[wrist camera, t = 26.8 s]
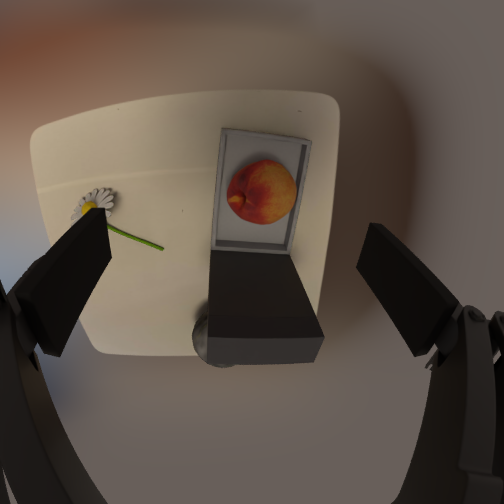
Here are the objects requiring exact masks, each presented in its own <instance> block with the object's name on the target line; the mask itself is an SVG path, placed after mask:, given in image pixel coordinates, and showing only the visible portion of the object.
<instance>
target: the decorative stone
mask: <svg viewBox="0 0 504 504" xmlns="http://www.w3.org/2000/svg"><path fill="white" fill-rule="evenodd" d="M207 323H208V312H206V313H204V314H203V315H202V316H201V317H200V318H199V319H198V320H197V322H196V323H195V326H194V329H193V333H192V340H193V346H194V349H195V351H196V352H197V354H198V355H199V357H200V358H201V359H202V360H204V361H205V362H206V363H207ZM210 365H212V366H215V367H221V368H223V367H224V368H227V367H232V366H234V364H210Z"/></svg>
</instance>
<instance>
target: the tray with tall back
mask: <svg viewBox="0 0 504 504" xmlns="http://www.w3.org/2000/svg"><path fill="white" fill-rule="evenodd" d="M311 145H312V141H310V140H307V139H303V138H297V137H291V136H285V135H278V134H271V133H264V132H256V131H247V130H238V129H227V128H222V130H221V139H220V148H219V157H218V167H217V177H216V188H215V200H214V212H213V224H212V238H211V253H210V271H209V293H208V323H207V364H234V365H257V364H258V365H260V364H261V365H263V364H294V363H310V362H314V360H315V358H316V356H317V354H318V351H319V349H320V347H321V345H322V342H323V340H324V335H323V332H322V329H321V327H320V325H319V322H318V320H317V318H316V315H315V313H314V310H313V308H312V305H311V303H310V301H309V298H308V296H307V294H306V291H305V289H304V287H303V284H302V282H301V280H300V277H299V275H298V273H297V271H296V268H295V266H294V264H293V261H292V259H291V257H290V251H291V246H292V242H293V237H294V232H295V228H296V223H297V218H298V213H299V208H300V203H301V198H302V193H303V188H304V183H305V178H306V172H307V167H308V162H309V156H310V151H311ZM265 159H268V160H273V161H275V162H277V163H279V164H281V165H283V166H284V168H285V169H286V170H287V171H288V172H289V173H290V174H291V175H292V177H293V179H294V181H295V184H296V189H297V195H296V200H295V203H294V205H293V207H292V209H291V210H290V212H289V213H288V214H286V215H285V216H284V217H283V218H281V219H280V220H278V221H276V222H274V223H272V224H266V225H259V224H254V223H251V222H248V221H245V220H243V219H241V218H240V217H238V216H237V215H236V214H235V213H234V212H233V210H232V209H231V208H230V206H229V204H228V202H227V189H228V187H229V184H230V182H231V180H232V178H233V177H234V175H235V174H236V173H237V172H238V171H240V170H241V169H242V168H244V167H245V166H247V165H249V164H251V163H253V162H258V161H261V160H265Z"/></svg>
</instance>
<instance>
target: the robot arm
mask: <svg viewBox="0 0 504 504" xmlns="http://www.w3.org/2000/svg"><path fill="white" fill-rule="evenodd" d="M111 258H112V256H111V249H110V243H109V236H108V228H107V220H106V211H105V207H97V208H91V209H89V210H88V211H87V212H86V213H85V214H84V215H83V216H82V217H81V218H80V219H79V220H78V221H77V222H76V223H75V224H74V225H73V226H72V227H71V228H70V229H69V230H68V231H67V232H66V233H65V234H64V235H63V236H62V237H61V238H60V239H59V240H58V241H57V242H56V243H55V244H54V245H53V246H52V247H51V248H50V249H49V250H48V252H47V253H46V254H45V255H43V256H42V257H40V258H39V259H37V260H36V261H34V262H33V263H32V265H31V266H30V267H29V268H28V270H27V271H26V272H25V273H24V274H23V275H22V277H21V278H20V279H19V280H18V281H17V282H16V284H15V285H14V286H13V287H12V289H11V290H10V291H9V292H8V294H7V295H6V293H5V290H4V288H3V285H2V283H1V280H0V504H10V500H9V496H8V492H7V488H6V484H5V479H4V475H3V470H4V472H5V475H6V478H7V480H8V483H9V485H10V488H11V490H12V492H13V494H14V497H15V499H16V501H17V503H18V504H107V502H106V500H105V499H104V498H103V496H102V495H101V493H100V492H99V491H98V489H97V487H96V486H95V484H94V483H93V481H92V480H91V478H90V477H89V475H88V473H87V471H86V470H85V468H84V466H83V465H82V463H81V461H80V459H79V458H78V456H77V454H76V452H75V450H74V448H73V446H72V444H71V442H70V440H69V438H68V436H67V434H66V432H65V430H64V428H63V425H62V423H61V421H60V419H59V417H58V414H57V412H56V409H55V407H54V404H53V402H52V399H51V397H50V394H49V391H48V388H47V385H46V382H45V379H44V376H43V373H42V370H41V367H40V363H39V360H38V357H37V354H36V353H35V351H34V348H35V346H36V344H37V342H38V344H39V346H40V347H41V349H42V351H43V353H44V354H48V355H52V356H56V357H60V356H61V354H62V352H63V349H64V347H65V345H66V343H67V341H68V338H69V336H70V334H71V332H72V330H73V328H74V326H75V324H76V322H77V320H78V318H79V316H80V314H81V312H82V310H83V308H84V306H85V304H86V302H87V300H88V299H89V297H90V295H91V293H92V291H93V289H94V288H95V286H96V284H97V282H98V281H99V279H100V277H101V275H102V274H103V272H104V270H105V268H106V267H107V265H108V263H109V262H110V260H111ZM356 268H357V270H358V271H359V272H360V274H361V275H362V277H363V278H364V279H365V281H366V282H367V284H368V285H369V287H370V288H371V290H372V291H373V293H374V294H375V296H376V297H377V298H378V300H379V301H380V303H381V304H382V306H383V308H384V309H385V310H386V312H387V313H388V315H389V317H390V318H391V319H392V321H393V323H394V324H395V326H396V328H397V329H398V331H399V332H400V334H401V336H402V337H403V339H404V340H405V342H406V344H407V345H408V347H409V348H410V350H411V352H412V354H413V355H414V357H417V356H421V355H425V354H427V353H428V352H429V350H430V349H431V348H432V346H433V345H434V343H435V345H436V346H437V348H438V349H437V350H436V352H435V353H434V355H433V356H432V357H431V359H430V360H429V362H428V363H427V364H426V366H425V368H428V366H429V365H430V364H433V366H432V367H431V368H430V370H431V371H432V372H431V380H430V386H429V392H428V397H427V402H426V407H425V412H424V416H423V421H422V425H421V429H420V433H419V436H418V440H417V444H416V447H415V451H414V454H413V457H412V460H411V463H410V466H409V469H408V472H407V475H406V477H405V480H404V483H403V485H402V488H401V490H400V493H399V495H398V497H397V498H396V499H395V500H394V502H392V503H391V504H504V312H500V311H497V312H495V314H494V315H493V317H492V319H491V320H487V319H486V318H485V316H484V315H483V313H482V312H481V311H480V310H478V309H477V308H475V307H473V306H470V305H467V306H465V307H462V305H461V304H460V303H459V301H458V300H457V299H456V298H455V296H454V295H453V294H452V293H451V292H450V291H449V290H448V289H447V288H446V286H445V285H444V284H443V283H442V282H441V281H440V280H439V279H438V278H437V277H436V276H435V275H434V274H433V273H432V272H431V271H430V270H429V269H428V268H427V267H426V266H425V264H423V263H422V261H420V260H419V258H417V257H416V256H415V255H414V254H413V253H412V252H411V251H410V250H409V249H408V248H407V247H406V246H405V245H404V244H403V243H402V242H401V241H400V240H399V239H398V238H396V237H395V236H394V235H393V234H392V233H391V232H390V231H389V230H388V229H387V228H386V227H384V226H383V225H382V224H378V223H370V224H369V227H368V231H367V234H366V238H365V241H364V244H363V248H362V251H361V254H360V257H359V260H358V263H357V266H356ZM499 350H500V353H501V356H500V357H499V359H498V360H497V361H496V362H495V364H493V358H494V356H495V355H496V354H497V352H498V351H499ZM2 467H3V469H2Z"/></svg>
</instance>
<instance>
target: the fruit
mask: <svg viewBox="0 0 504 504" xmlns="http://www.w3.org/2000/svg"><path fill="white" fill-rule="evenodd" d="M296 195H297V189H296V184H295V181H294V179H293V177H292V175H291V174H290V173H289V172H288V171H287V170H286V169H285V168H284V166H283V165H281V164H279V163H277V162H275V161H273V160H268V159H265V160H261V161H258V162H253V163H251V164H249V165H247V166H245V167H244V168H242V169H241V170H240V171H238V172H237V173H236V174H235V175H234V177H233V178H232V180H231V182H230V184H229V187H228V189H227V202H228V204H229V206H230V208H231V209H232V210H233V212H234V213H235V214H236V215H237V216H238V217H240V218H241V219H243V220H245V221H248V222H251V223H254V224H259V225H266V224H272V223H274V222H276V221H278V220H280V219H281V218H283V217H284V216H285V215H286V214H288V213H289V212H290V210H291V209H292V207H293V205H294V203H295V200H296Z"/></svg>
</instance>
